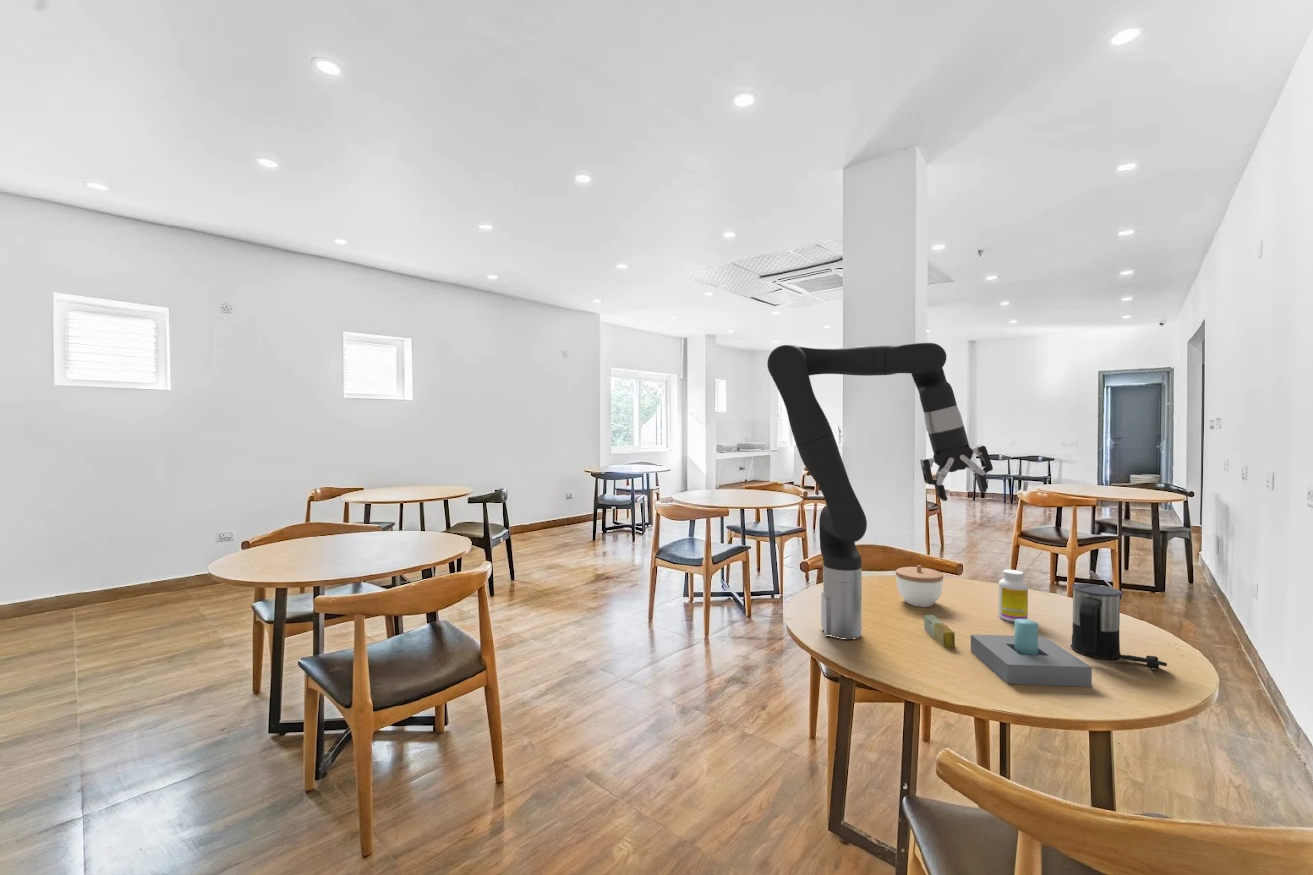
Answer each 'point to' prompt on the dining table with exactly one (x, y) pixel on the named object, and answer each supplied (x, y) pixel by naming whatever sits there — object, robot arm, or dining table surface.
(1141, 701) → the dining table surface
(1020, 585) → the supplement bottle
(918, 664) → the dining table surface
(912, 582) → the lidded bowl
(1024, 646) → the peg
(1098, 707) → the dining table surface
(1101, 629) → the milk frother
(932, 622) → the medication box
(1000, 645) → the socket block
